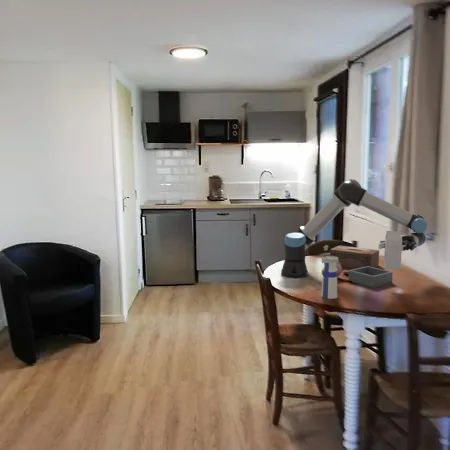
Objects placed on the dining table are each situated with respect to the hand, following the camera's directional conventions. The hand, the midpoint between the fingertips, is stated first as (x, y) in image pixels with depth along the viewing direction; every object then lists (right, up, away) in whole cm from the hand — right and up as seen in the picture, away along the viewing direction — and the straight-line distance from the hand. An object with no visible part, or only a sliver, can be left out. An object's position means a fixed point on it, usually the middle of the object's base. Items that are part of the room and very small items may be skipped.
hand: (389, 247), depth 229 cm
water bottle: (-32, -23, -7) cm, 40 cm away
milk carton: (+3, -11, +5) cm, 12 cm away
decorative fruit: (-22, -18, +26) cm, 39 cm away
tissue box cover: (-2, -14, +56) cm, 57 cm away
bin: (-4, -19, +18) cm, 26 cm away
